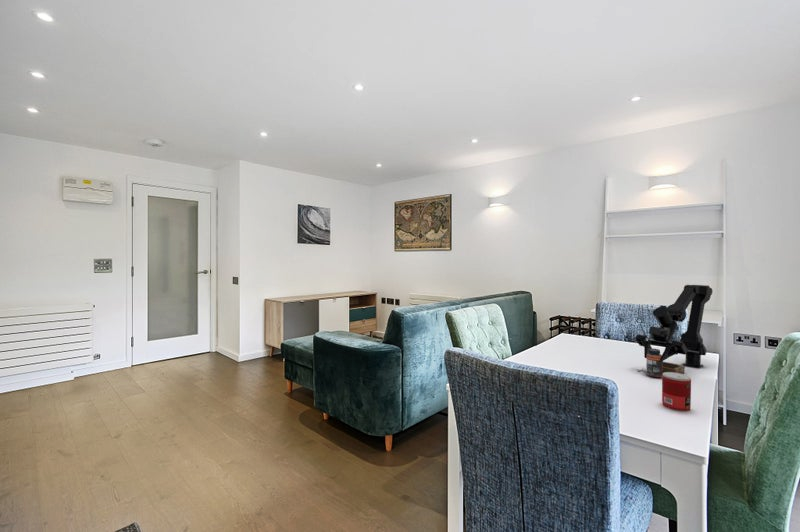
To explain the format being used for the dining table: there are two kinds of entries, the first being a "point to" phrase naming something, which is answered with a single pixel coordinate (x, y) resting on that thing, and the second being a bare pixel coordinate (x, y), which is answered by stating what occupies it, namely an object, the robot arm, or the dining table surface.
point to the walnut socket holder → (673, 368)
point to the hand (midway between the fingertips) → (652, 359)
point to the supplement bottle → (654, 363)
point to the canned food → (676, 391)
